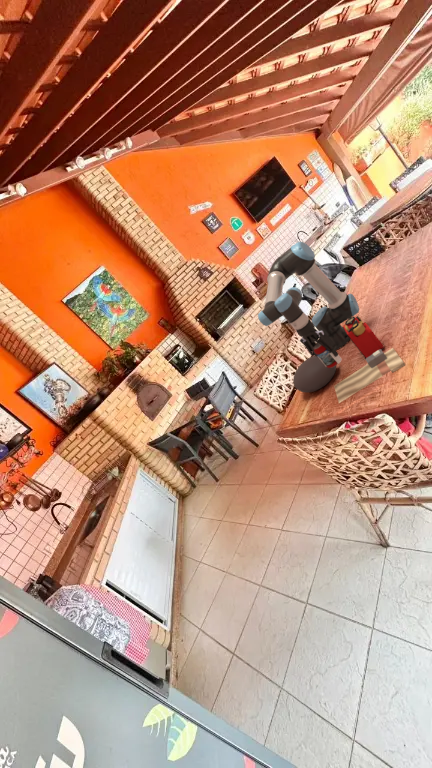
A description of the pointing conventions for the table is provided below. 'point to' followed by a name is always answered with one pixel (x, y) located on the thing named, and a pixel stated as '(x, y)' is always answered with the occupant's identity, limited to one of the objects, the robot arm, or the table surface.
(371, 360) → the block
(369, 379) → the subfloor panel
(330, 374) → the flattened ellipsoid
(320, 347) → the beverage can
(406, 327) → the table surface
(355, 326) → the red mechanical device
